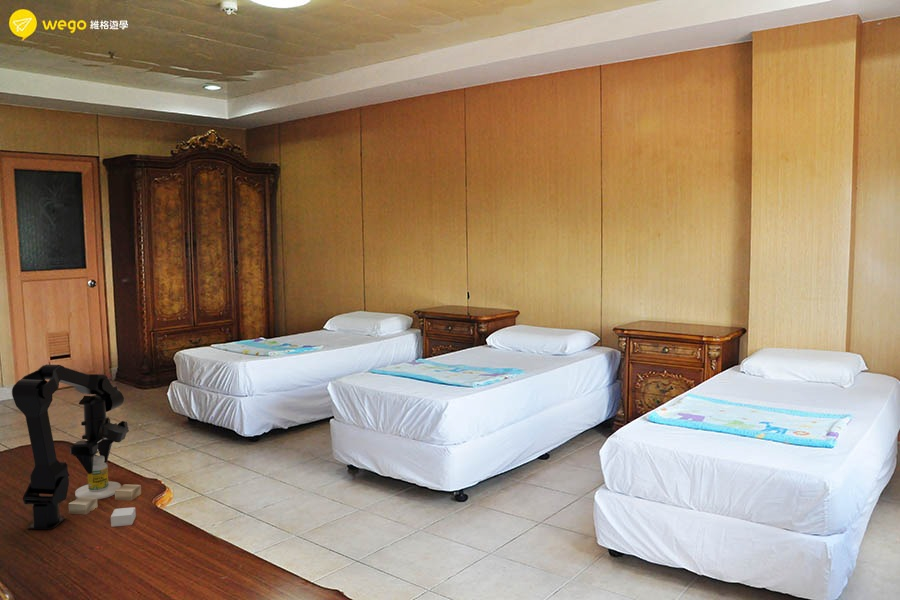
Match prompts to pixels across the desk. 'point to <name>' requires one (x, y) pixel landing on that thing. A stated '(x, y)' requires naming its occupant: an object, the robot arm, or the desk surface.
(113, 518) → the grey plastic block
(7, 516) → the desk surface
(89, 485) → the supplement bottle
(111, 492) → the cream saucer
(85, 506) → the birch block
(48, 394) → the robot arm
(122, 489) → the oak block
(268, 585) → the desk surface
